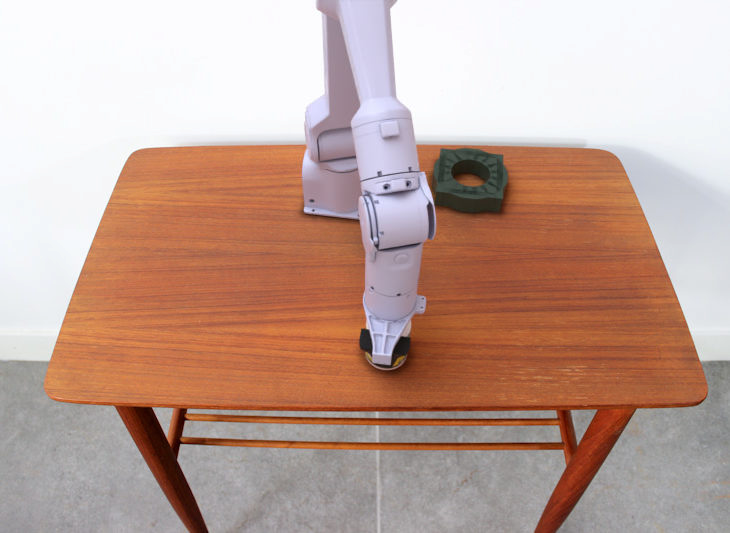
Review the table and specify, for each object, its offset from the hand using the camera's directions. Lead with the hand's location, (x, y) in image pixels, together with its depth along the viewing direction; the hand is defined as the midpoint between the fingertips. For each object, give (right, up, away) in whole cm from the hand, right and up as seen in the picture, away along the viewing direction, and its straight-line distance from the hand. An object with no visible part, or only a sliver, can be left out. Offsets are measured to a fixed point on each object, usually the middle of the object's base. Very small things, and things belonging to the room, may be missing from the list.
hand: (387, 342), depth 74 cm
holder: (+14, +22, +21) cm, 33 cm away
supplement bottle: (0, -2, +2) cm, 3 cm away
